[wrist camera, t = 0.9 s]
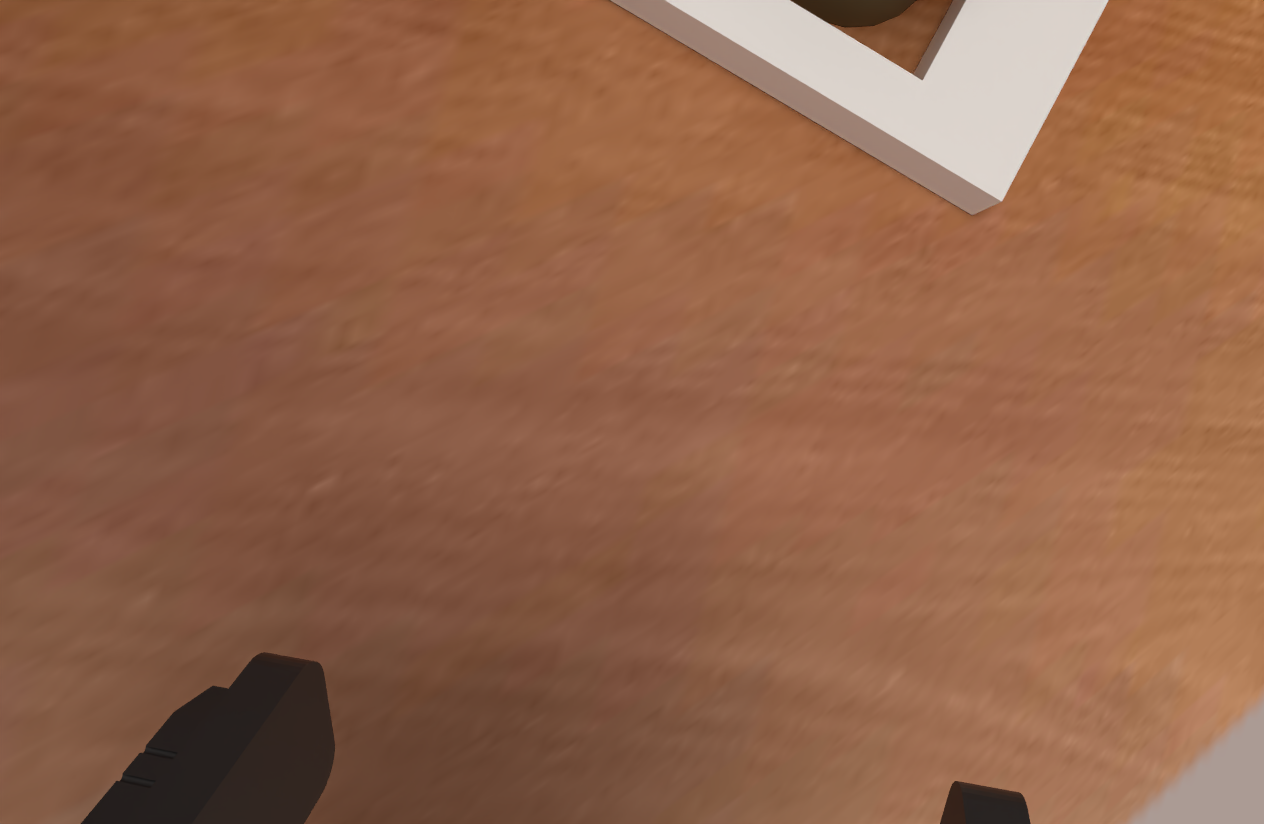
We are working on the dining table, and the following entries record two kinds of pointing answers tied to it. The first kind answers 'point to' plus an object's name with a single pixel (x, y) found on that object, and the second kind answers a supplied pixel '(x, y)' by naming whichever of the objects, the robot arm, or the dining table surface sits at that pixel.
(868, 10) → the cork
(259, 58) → the dining table surface
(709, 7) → the socket strip
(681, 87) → the dining table surface
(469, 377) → the dining table surface
